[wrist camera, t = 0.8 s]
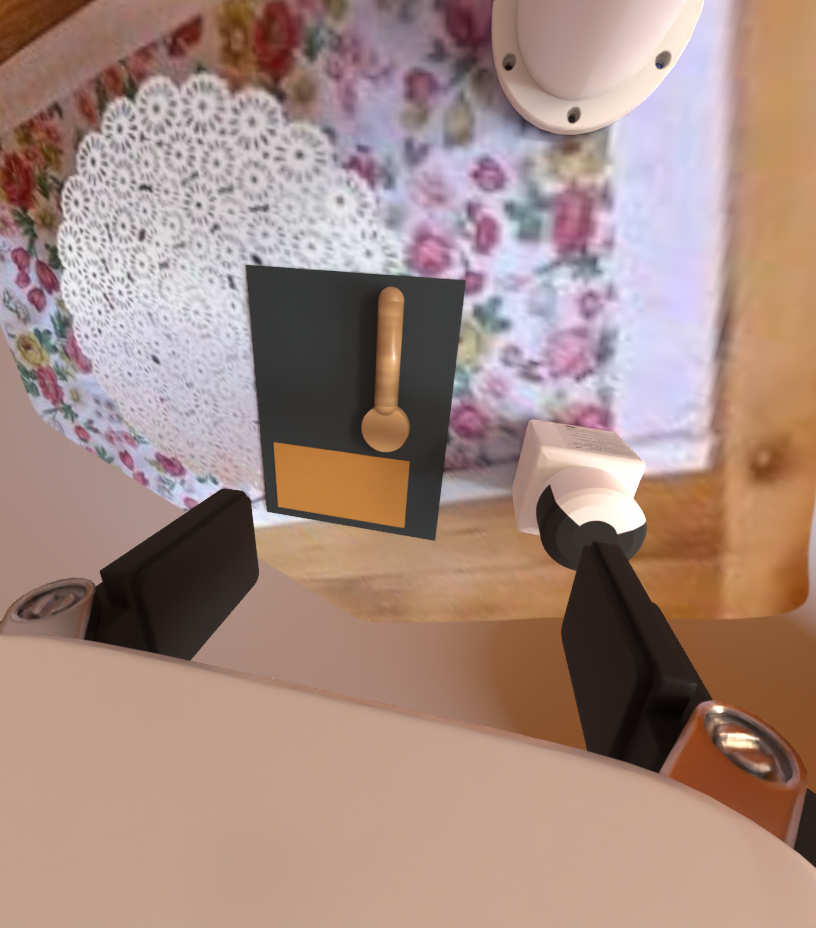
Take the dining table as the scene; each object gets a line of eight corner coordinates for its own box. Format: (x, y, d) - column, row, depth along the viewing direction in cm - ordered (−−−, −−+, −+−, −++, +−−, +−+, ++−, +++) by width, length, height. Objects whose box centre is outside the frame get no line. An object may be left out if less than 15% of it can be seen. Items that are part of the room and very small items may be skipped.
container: (590, 505, 38) (637, 597, 26) (510, 491, 39) (520, 573, 27) (616, 431, 34) (682, 497, 23) (528, 417, 36) (548, 474, 24)
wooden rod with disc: (369, 285, 34) (361, 284, 32) (421, 289, 33) (416, 288, 31) (364, 444, 40) (358, 451, 38) (408, 450, 39) (404, 458, 37)
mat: (247, 265, 35) (245, 265, 35) (465, 280, 32) (465, 280, 32) (268, 510, 46) (266, 512, 45) (434, 539, 43) (434, 540, 42)
